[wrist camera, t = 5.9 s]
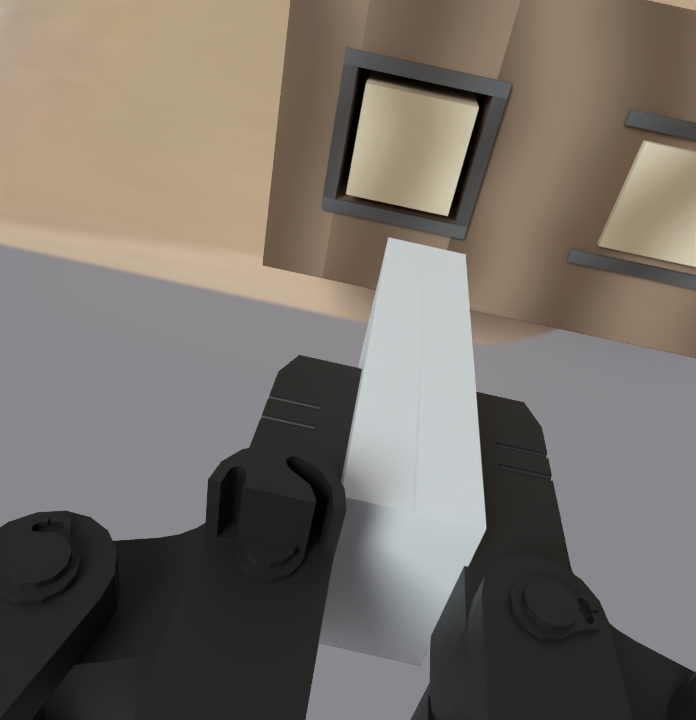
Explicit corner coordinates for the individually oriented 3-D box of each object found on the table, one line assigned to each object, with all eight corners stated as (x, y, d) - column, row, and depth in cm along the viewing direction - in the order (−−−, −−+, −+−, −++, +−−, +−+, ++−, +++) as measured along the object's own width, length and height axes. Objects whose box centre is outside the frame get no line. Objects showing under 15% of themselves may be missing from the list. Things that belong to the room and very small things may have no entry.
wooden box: (780, 29, 27) (921, 60, 19) (653, 271, 33) (720, 365, 26) (335, -68, 26) (297, -76, 19) (300, 195, 33) (261, 267, 26)
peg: (467, 70, 27) (479, 107, 21) (444, 157, 30) (448, 216, 23) (381, 51, 27) (365, 83, 21) (364, 140, 30) (345, 194, 23)
